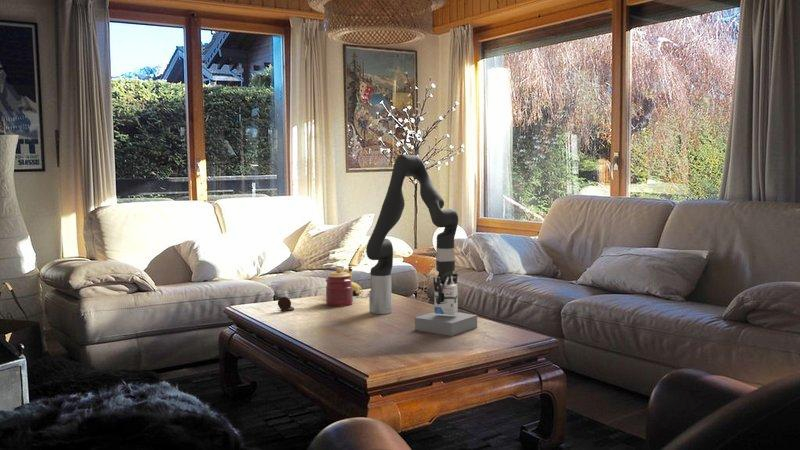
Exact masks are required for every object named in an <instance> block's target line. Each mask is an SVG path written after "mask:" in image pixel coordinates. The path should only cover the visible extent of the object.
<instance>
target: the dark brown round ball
mask: <svg viewBox="0 0 800 450" xmlns="http://www.w3.org/2000/svg"><path fill="white" fill-rule="evenodd" d="M291 301H292V300H291V299H290V298H289V297H287V296H286V295H285V296H281V297H280V298H278V300H277V306H278V307H277V310H280V311H281V312H292V311H294V310H295V307H293V306H292V302H291Z"/></svg>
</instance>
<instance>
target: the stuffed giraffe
mask: <svg viewBox="0 0 800 450" xmlns="http://www.w3.org/2000/svg"><path fill="white" fill-rule="evenodd" d="M343 271H344V272H348V273H349V274H351V276H350V278H352V279H353V272H352V271H353V269H352V266H351V265H348V268H346V267H345V268H344V270H343ZM351 283H352V286H353V287H352V294H353V299H360V298H369V293H368V294H366V295H365V296H363V289H362V287H361V286H360V285H359V284H358V283H356V282H355V281H352V282H351ZM361 294H362V295H361Z"/></svg>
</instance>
